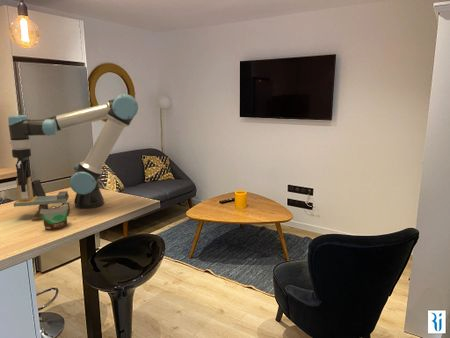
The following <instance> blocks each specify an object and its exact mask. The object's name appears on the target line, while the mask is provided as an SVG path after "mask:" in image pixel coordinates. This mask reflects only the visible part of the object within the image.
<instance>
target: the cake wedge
mask: <svg viewBox="0 0 450 338" xmlns="http://www.w3.org/2000/svg"><path fill="white" fill-rule="evenodd" d="M67 203H68V202H67V201H66V202H65V204H63V205H62V204H60V205H54V206H51V207H48V209H41V210H40V214H42V217H43V220H42V221H43V222H42V223H43V225H44V229H45V231H58V230H62V229H65V228H66V227H67V226H68V216H67V209H68V208H69V207H68V204H67Z"/></svg>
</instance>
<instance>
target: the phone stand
mask: <svg viewBox="0 0 450 338" xmlns="http://www.w3.org/2000/svg"><path fill="white" fill-rule="evenodd" d="M31 182H32V191H33V197H37V196H47V195H46V193H45V190H44V188H43V186H42V181H41V180H40V179H36V180H32V181H31Z"/></svg>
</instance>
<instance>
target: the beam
mask: <svg viewBox="0 0 450 338" xmlns="http://www.w3.org/2000/svg"><path fill="white" fill-rule="evenodd" d="M69 195H70V194H69V193H68V190H64V191H59V192H58V193H57V194H55V195H54V194H53V195H46V196H36V197H33V199H32V200H31V201H21V202H19V199H18V198H17V200H16V201H15V202H14V203H13V207H14V208H16V207H29V206H39V205H43V204H48V205H52V204H54V205H55V204H62V203H65V202H66V203H67V201H68V199H69V197H70V196H69Z"/></svg>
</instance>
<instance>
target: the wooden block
mask: <svg viewBox="0 0 450 338" xmlns="http://www.w3.org/2000/svg"><path fill="white" fill-rule="evenodd" d="M31 179H32V175H31V176H26V184H27V190H28V198H23V199H22V198H21V190H20V185H18V178H17V177H16V179H15V182H16V188H17V196H18V198H17V200H18V199H19V202H21V201H31V200H32V199H33V191H32V182H33V181H31Z"/></svg>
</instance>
